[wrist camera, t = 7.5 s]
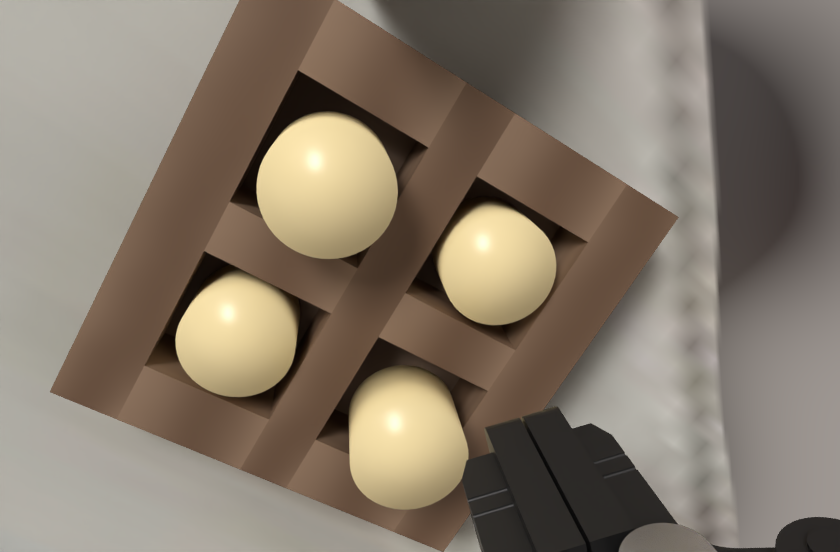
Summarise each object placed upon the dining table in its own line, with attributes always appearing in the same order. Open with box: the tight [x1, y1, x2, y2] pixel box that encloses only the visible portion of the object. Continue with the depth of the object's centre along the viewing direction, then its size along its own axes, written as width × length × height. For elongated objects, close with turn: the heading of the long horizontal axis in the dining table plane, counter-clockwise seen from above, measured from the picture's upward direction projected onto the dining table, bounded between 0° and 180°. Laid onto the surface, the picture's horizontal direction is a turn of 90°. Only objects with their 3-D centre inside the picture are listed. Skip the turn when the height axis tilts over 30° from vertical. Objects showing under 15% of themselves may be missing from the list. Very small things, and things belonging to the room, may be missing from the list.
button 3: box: [257, 111, 398, 259], centre depth 21 cm, size 4×4×3 cm
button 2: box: [349, 365, 468, 510], centre depth 25 cm, size 4×4×3 cm
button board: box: [50, 0, 678, 552], centre depth 26 cm, size 17×17×4 cm
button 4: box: [432, 197, 556, 325], centre depth 25 cm, size 4×4×3 cm
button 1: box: [175, 265, 300, 397], centre depth 25 cm, size 4×4×3 cm
